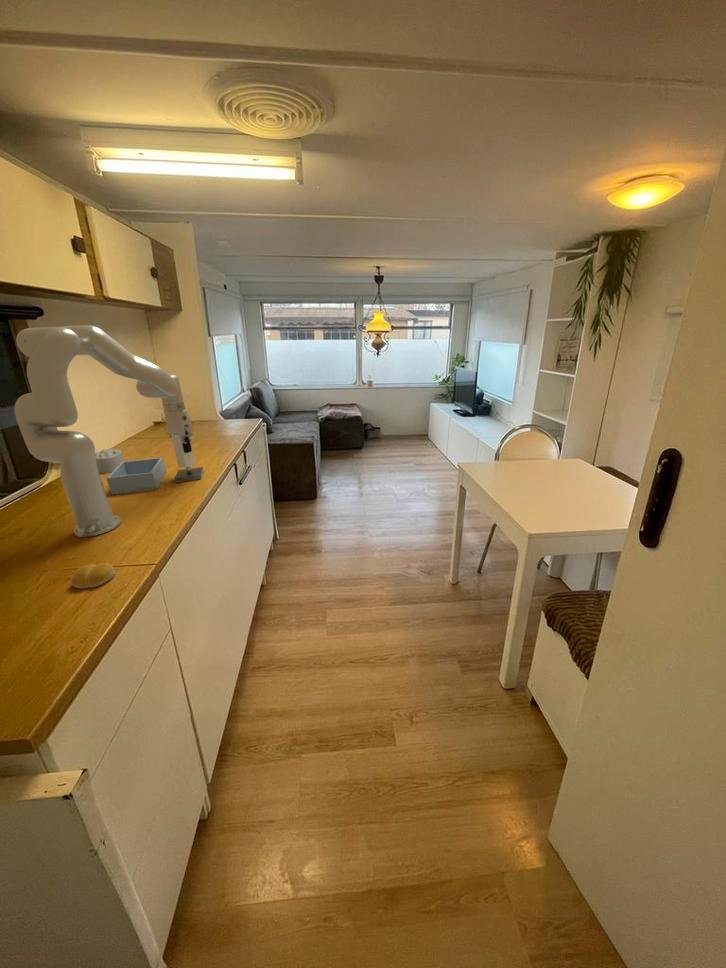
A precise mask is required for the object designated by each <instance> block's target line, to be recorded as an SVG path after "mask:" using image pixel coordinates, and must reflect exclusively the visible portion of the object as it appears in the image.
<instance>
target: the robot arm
mask: <svg viewBox="0 0 726 968" xmlns="http://www.w3.org/2000/svg"><path fill="white" fill-rule="evenodd" d="M15 341H16V345H17V347H18V350H20V352H21V353H22V354H24V356H26V357H27V358H28V357H29V358H28V360H27V365H26V376H27V379H28V383H29V388H30V391H31V392H28V393H25V394H22V395H21V396H20V397H18V398H17V399H16V401H15V404H14V415H15V419H16V422H17V424H18V427H19V431H20V432H21V435H22V437H23V441H24V443H25V445H26V447H27V450H28V451H29V453H30V454H31V456H32V457H34V458H35V459H37V460H39V461H42V462H48V463H58V464H60V473H59V474H60V481H61V484H62V487H63V489H64V492H65V495H66V497H67V500H68V503H69V505H70V508H71V511H72V513H73V517H74V518H75V521H76V523H77V525H75V527H74V528H73V534H74V535H75V536H77V537H80V538H81V537H82V538H83V537H85V538H87V537H94V536H98V535H99V536H100V535H102V534H105V533H107V532H109V531H112V530H114V529H116V528H117V527H118V526H119V525H120V524H121V518H120V516H117V515H115V514H114V513H113V512H112V509H111V504H110V502H109V499H108V496H107V494H106V490H105V486H104V484H103V481H102V478H101V473H99V471H98V468H97V463H96V456H95V453H96V448H95V444H94V442H93V440H92V439H91V438H90V437H89V436H88V435H86V434H84V433H82V432H80V431H74V430H59V429H58V428H64V427H65V428H67V427H70V426H73V425H74V424H76V422H77V421H78V418H79V413H78V409H77V407H76V403H75V400H74V397H73V392H72V391H71V387H70V383H69V378H68V368H69V366H70V364H71V362H72V360H73V359H75V357H77V356H90V357H91V358H92V359H94V360H96V362H99V363H100V364H101V365H103V366H104V367H106V369H108V370H110V371H111V372H112V373H114V374H116V375H117V376H121V377H124V378H127V379H133V380H136V381H137V382H136V386H135V388H136V391H137V392H138V394H140V395H141V396H142V397H145V398H153V399H154V398H155V399H159V398H160V399H161V402H162V407H163V410H164V418H165V425H166V430H167V434H168V435H169V437H170V438H171V439H172V437H171V434H177V435H180V436H181V437H182V440H183V448H184V453H188V452H191V451H192V449H193V448H192V449H191V445H192V439H193V438H194V433H193V427H192V424H191V419H190V416H189V413H188V412H187V410H186V406H185V402H184V397H183V393H182V388H181V383H180V379H179V376H178V375H176V374H169V373H168V372H167V371H166V370H164V369H163V368H162V367H160V366H158V365H156V364H154V363H153V362H150V361H148V360H146V359H144V358H141V357H139V356H137V355H135V354H133V353H131V352H130V351H128V349H126V348H125V347H124V346H122V344H120V343H119V342H117V341H116V340H115V339H114V338H112V337H111V336H110V335H109V334H107V333H106V332H105V331H104V330H102V329H101V328H100V327H98V326H95V325H90V324H89V325H85V324H84V325H83V324H82V325H65V326H46V327H45V326H44V327H28V328H24V329H21V330H20V331H19V332H18V333H17V335H16V339H15ZM185 434H186V435H185ZM184 437H186V439H185V438H184ZM190 442H191V444H190Z"/></svg>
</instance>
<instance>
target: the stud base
mask: <svg viewBox="0 0 726 968" xmlns="http://www.w3.org/2000/svg"><path fill="white" fill-rule="evenodd" d="M204 471H205V470H204V467H192V466H190V467H187V468H184V469H178V470H177V472H176V473H175V476H174V481H175V483H176V482H177V481H185V482H187V481H186V480H193V481H198V480H197V479H201V480H202V479H203V475H204ZM177 483H178V482H177Z"/></svg>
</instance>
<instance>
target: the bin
mask: <svg viewBox="0 0 726 968" xmlns="http://www.w3.org/2000/svg"><path fill="white" fill-rule="evenodd" d="M165 473H166V474H167V468H166V464H165V461H164V457H154V458H146V459H144V458H143V459H137V460H127V461H126V460H124V462H121V463H120V464H119V465H118V466H117V468H116V469H115V470H114V471H113V472H112V473H110V474H108V476H107V477H106V481H107V485H108V487H109V490H110V494H111V496H113V495H114V494H116V495H123V494H122V493H124V494H130V492H132V493H138V492H139V491H140V492H147V491H146V490H148V491H153V490H152V489H156V490H158V489H159V487H160V485H161V483H162V481H163V480H164V478H163V477H165V476H166V474H165ZM164 475H165V476H164ZM162 479H163V480H162ZM161 480H162V481H161ZM160 482H161V483H160ZM159 484H160V485H159ZM158 486H159V487H158ZM157 488H158V489H157ZM114 496H115V495H114Z"/></svg>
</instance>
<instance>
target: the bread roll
mask: <svg viewBox="0 0 726 968" xmlns="http://www.w3.org/2000/svg"><path fill="white" fill-rule="evenodd" d="M114 576H115V569H114V566H113V565H112V564H110V563H107V562H103V563H102V562H101V563H98V564H96V565H95V564H84V565H81V566H80V567H78V568H77V569H76V570H75V571H74V573H73V574H72V576H71V577H70V580H69V582H70V584H71V586H73V587H75V588H77V589H88V588H97V587H99V585H100V586H101V584H102V585H103V583H104V584H105V583H107V582H109V581H110V580H111V579H112V578H113V577H114ZM108 580H109V581H108ZM106 581H107V582H106ZM96 586H97V587H96Z"/></svg>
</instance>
